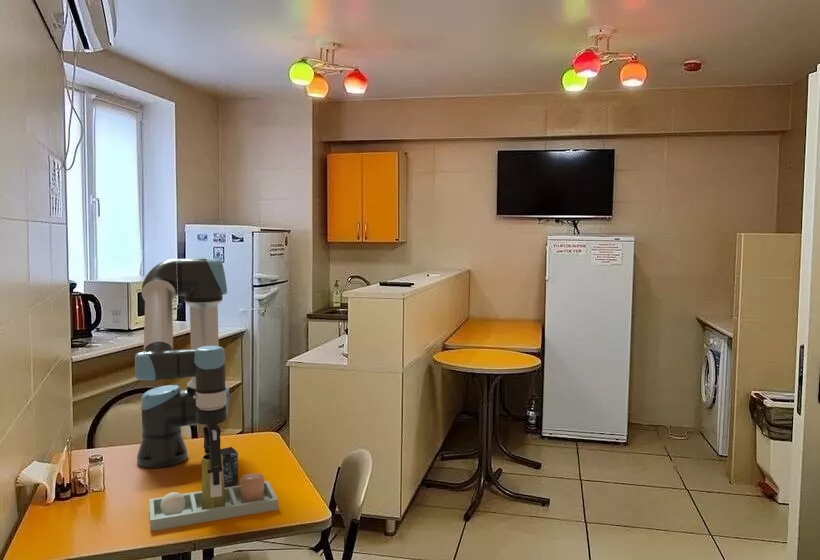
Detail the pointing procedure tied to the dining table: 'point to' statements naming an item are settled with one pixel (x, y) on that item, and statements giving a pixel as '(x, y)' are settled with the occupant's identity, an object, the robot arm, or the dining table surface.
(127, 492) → the dining table surface
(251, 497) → the pink pillar candle
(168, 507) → the ball
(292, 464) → the dining table surface
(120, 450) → the dining table surface
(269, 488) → the tray
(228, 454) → the box
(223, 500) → the vase
